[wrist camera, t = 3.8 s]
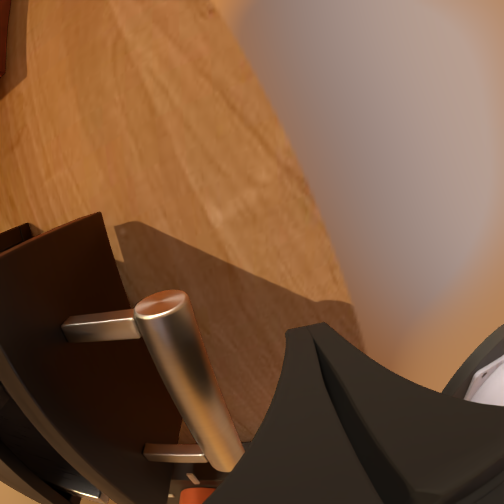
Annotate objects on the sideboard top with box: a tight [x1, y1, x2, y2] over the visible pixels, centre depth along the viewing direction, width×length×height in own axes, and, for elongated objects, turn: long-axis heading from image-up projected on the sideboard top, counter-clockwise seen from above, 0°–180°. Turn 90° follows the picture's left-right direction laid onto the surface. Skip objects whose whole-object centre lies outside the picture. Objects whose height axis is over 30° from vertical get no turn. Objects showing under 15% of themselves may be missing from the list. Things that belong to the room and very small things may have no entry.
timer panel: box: [167, 442, 251, 504], centre depth 15 cm, size 10×8×3 cm
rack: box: [0, 212, 245, 504], centre depth 8 cm, size 18×11×7 cm, turn 100°
